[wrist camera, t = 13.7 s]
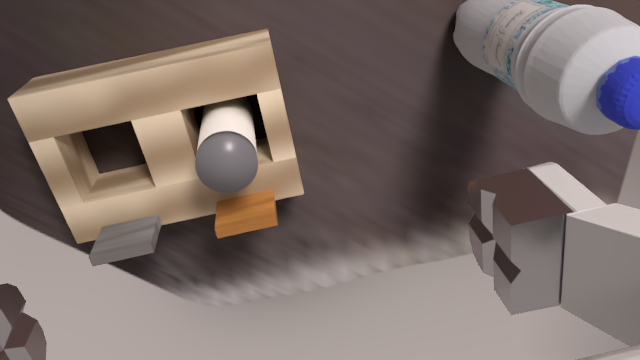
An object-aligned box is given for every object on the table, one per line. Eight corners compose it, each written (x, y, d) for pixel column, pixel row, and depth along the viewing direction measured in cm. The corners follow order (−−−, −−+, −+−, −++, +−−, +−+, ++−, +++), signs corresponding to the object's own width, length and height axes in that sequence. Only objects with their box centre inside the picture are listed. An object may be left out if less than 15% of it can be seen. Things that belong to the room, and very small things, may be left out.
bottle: (472, -38, 40) (652, 6, 23) (540, -1, 42) (755, 66, 24) (428, 44, 43) (559, 141, 25) (495, 76, 45) (660, 186, 27)
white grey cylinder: (196, 97, 42) (186, 145, 33) (245, 85, 42) (249, 129, 33) (211, 142, 44) (205, 199, 35) (258, 130, 44) (264, 184, 35)
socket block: (33, 77, 40) (-19, 120, 32) (267, 28, 40) (273, 58, 32) (93, 211, 46) (61, 275, 38) (298, 166, 46) (309, 220, 38)
